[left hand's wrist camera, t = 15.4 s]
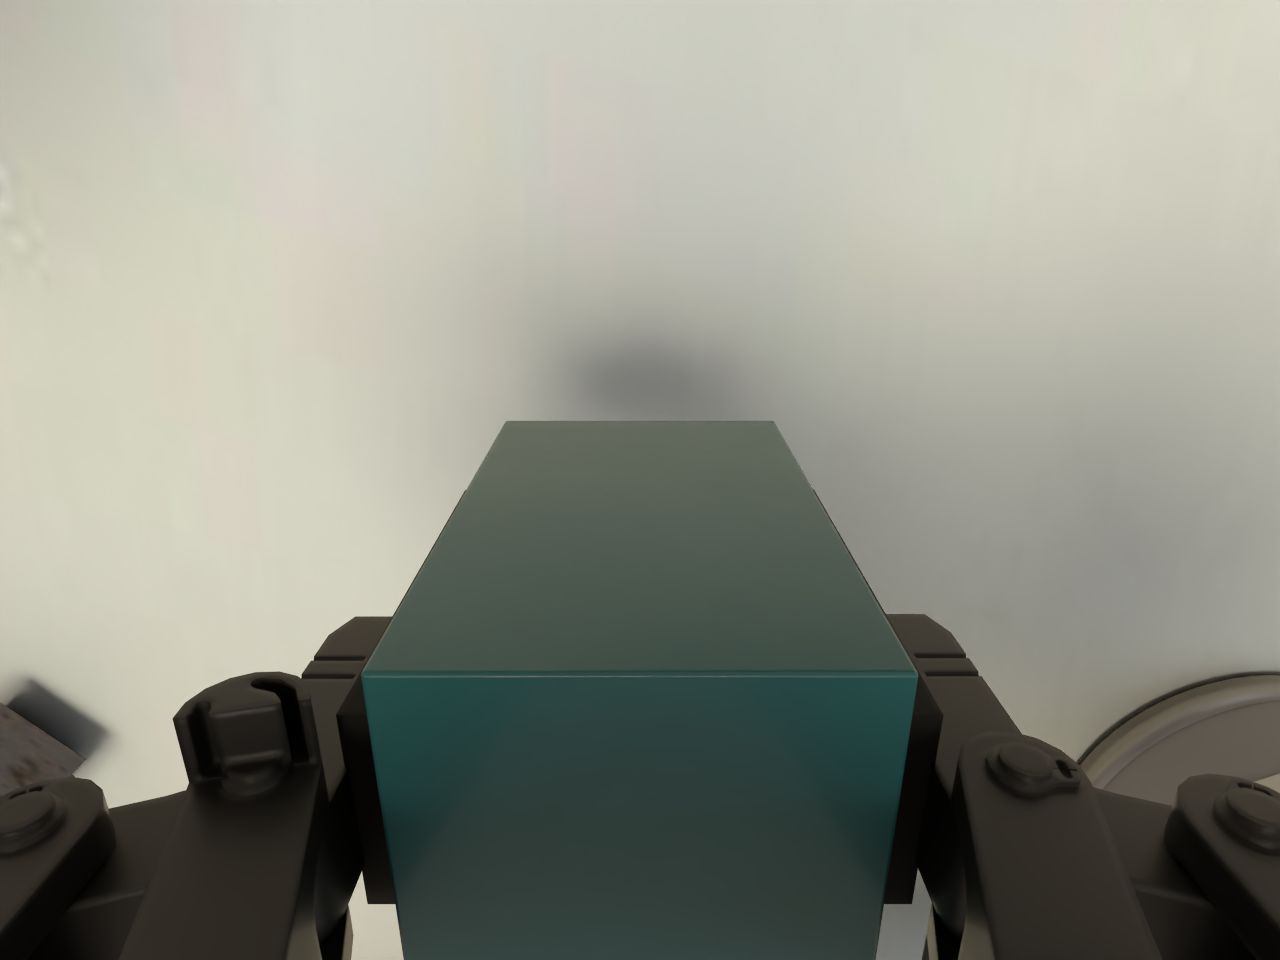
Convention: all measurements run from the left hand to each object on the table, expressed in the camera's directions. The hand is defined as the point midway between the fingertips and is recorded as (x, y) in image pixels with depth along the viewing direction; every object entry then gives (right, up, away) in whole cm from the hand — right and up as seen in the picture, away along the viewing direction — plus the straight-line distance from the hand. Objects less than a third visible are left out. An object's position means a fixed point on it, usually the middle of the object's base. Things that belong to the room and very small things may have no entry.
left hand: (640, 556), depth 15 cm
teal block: (0, 0, +1) cm, 1 cm away
